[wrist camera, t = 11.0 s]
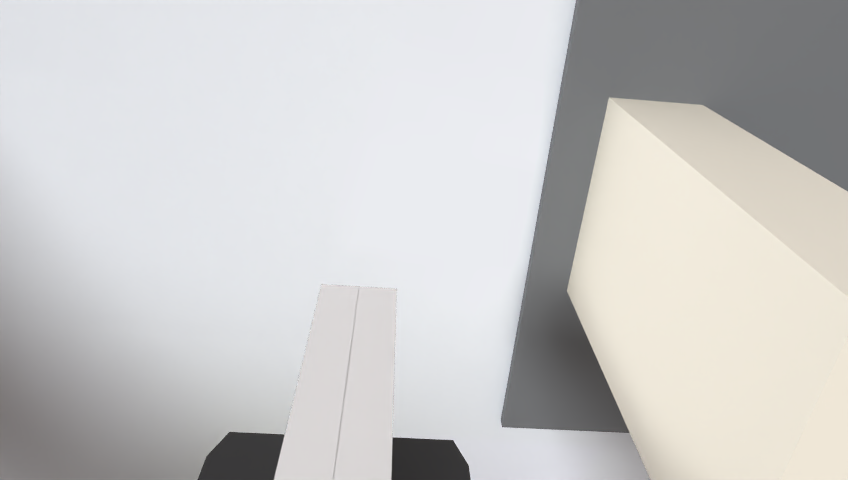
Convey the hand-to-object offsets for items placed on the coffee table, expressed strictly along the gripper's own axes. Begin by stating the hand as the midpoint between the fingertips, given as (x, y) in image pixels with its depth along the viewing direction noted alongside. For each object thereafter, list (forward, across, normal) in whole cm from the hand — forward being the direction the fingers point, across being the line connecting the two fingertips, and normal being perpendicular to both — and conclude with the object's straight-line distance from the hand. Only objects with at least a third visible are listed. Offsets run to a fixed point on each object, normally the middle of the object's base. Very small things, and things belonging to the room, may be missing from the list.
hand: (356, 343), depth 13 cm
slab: (+9, +8, 0) cm, 12 cm away
